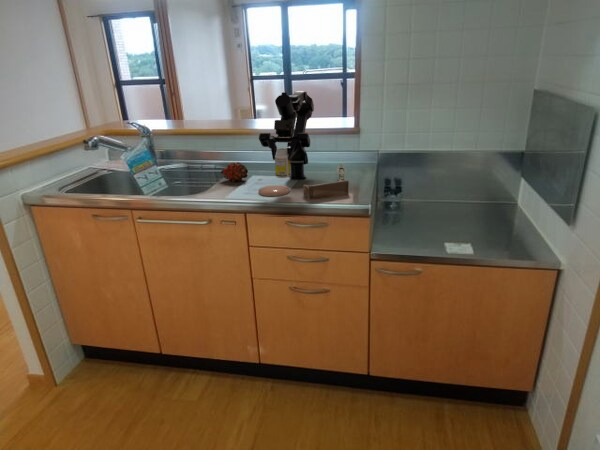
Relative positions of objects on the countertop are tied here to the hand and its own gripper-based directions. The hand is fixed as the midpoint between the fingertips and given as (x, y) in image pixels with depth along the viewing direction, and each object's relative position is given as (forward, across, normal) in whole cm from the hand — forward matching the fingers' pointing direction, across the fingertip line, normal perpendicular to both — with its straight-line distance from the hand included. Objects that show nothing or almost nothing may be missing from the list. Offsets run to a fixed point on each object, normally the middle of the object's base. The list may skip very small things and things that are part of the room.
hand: (281, 159), depth 152 cm
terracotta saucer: (+8, -4, +11) cm, 14 cm away
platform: (-5, +19, +25) cm, 32 cm away
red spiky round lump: (-2, -26, +21) cm, 33 cm away
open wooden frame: (+9, +16, +10) cm, 21 cm away
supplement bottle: (+4, 0, +6) cm, 7 cm away
